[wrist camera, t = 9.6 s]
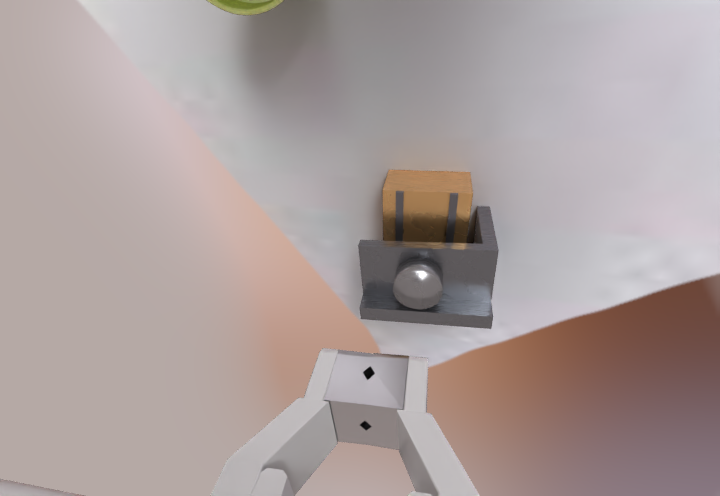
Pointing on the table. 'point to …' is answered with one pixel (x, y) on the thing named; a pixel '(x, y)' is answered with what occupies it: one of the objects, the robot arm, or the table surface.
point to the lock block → (427, 206)
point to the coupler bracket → (431, 279)
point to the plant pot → (246, 6)
